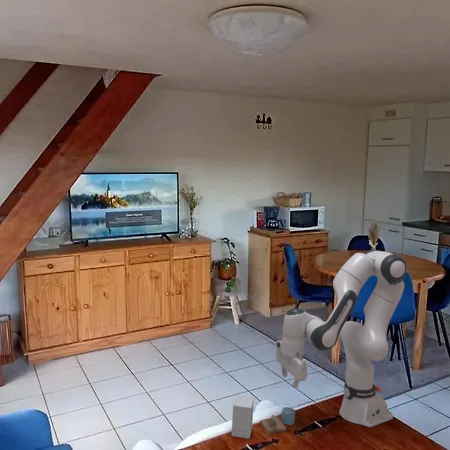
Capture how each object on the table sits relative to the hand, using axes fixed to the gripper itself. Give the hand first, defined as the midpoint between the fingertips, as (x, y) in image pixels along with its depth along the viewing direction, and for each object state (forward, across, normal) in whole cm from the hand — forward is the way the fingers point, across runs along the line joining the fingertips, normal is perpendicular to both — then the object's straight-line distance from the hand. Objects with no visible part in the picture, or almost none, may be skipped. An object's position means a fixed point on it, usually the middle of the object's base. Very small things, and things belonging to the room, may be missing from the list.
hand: (289, 381), depth 183 cm
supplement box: (+18, -2, +20) cm, 27 cm away
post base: (+18, -2, +7) cm, 19 cm away
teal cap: (+18, 0, -1) cm, 18 cm away
